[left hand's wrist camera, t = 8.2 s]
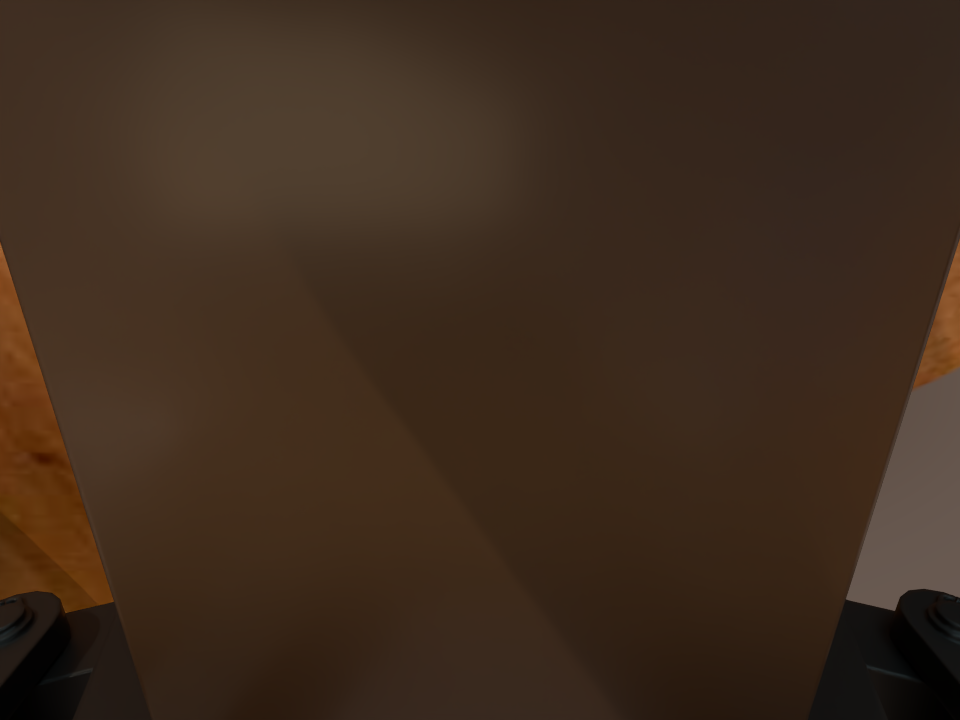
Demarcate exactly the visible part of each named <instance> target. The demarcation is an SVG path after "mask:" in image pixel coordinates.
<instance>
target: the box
mask: <svg viewBox="0 0 960 720" xmlns="http://www.w3.org/2000/svg"><path fill="white" fill-rule="evenodd" d="M959 239H960V0H0V242H1V245H2V248H3V252H4V255H5V258H6V261H7V264H8V267H9V271H10V274H11V277H12V280H13V283H14V286H15V290H16V293H17V296H18V299H19V302H20V305H21V308H22V312H23V315H24V318H25V321H26V324H27V327H28V331H29V334H30V337H31V340H32V343H33V346H34V350H35V353H36V356H37V359H38V362H39V365H40V369H41V372H42V375H43V378H44V381H45V384H46V388H47V391H48V394H49V397H50V400H51V403H52V406H53V410H54V413H55V416H56V419H57V422H58V425H59V429H60V432H61V435H62V438H63V441H64V444H65V448H66V451H67V454H68V457H69V460H70V463H71V467H72V470H73V473H74V476H75V479H76V482H77V485H78V489H79V492H80V495H81V498H82V501H83V504H84V508H85V511H86V514H87V517H88V520H89V523H90V527H91V530H92V533H93V536H94V539H95V542H96V546H97V549H98V552H99V555H100V558H101V561H102V564H103V568H104V571H105V574H106V577H107V580H108V583H109V587H110V590H111V593H112V596H113V599H114V602H115V606H116V609H117V612H118V615H119V618H120V621H121V625H122V628H123V631H124V634H125V637H126V640H127V644H128V647H129V650H130V653H131V656H132V659H133V662H134V666H135V669H136V672H137V675H138V678H139V681H140V685H141V688H142V691H143V694H144V697H145V700H146V704H147V707H148V710H149V713H150V716H151V719H152V720H808V717H809V714H810V711H811V707H812V704H813V701H814V698H815V695H816V692H817V688H818V685H819V682H820V679H821V676H822V673H823V669H824V666H825V663H826V660H827V657H828V654H829V650H830V647H831V644H832V641H833V638H834V635H835V631H836V628H837V625H838V622H839V619H840V616H841V612H842V609H843V606H844V603H845V600H846V596H847V593H848V590H849V587H850V584H851V581H852V578H853V574H854V571H855V568H856V565H857V562H858V558H859V555H860V552H861V549H862V546H863V543H864V540H865V536H866V533H867V530H868V527H869V524H870V521H871V517H872V514H873V511H874V508H875V505H876V502H877V498H878V495H879V492H880V489H881V486H882V483H883V479H884V476H885V473H886V470H887V467H888V464H889V460H890V457H891V454H892V451H893V448H894V445H895V441H896V438H897V435H898V432H899V429H900V426H901V422H902V419H903V416H904V413H905V410H906V407H907V403H908V400H909V397H910V394H911V391H912V388H913V384H914V381H915V378H916V375H917V372H918V369H919V365H920V362H921V359H922V356H923V353H924V350H925V346H926V343H927V340H928V337H929V334H930V331H931V327H932V324H933V321H934V318H935V315H936V312H937V308H938V305H939V302H940V299H941V296H942V293H943V289H944V286H945V283H946V280H947V277H948V274H949V270H950V267H951V264H952V261H953V258H954V255H955V251H956V248H957V245H958V242H959Z"/></svg>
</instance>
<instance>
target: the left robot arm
mask: <svg viewBox="0 0 960 720" xmlns="http://www.w3.org/2000/svg"><path fill="white" fill-rule="evenodd" d="M0 720H152V719H151V716H150V713H149V710H148V707H147V704H146V700H145V697H144V694H143V691H142V688H141V685H140V681H139V678H138V675H137V672H136V669H135V666H134V662H133V659H132V656H131V653H130V650H129V647H128V644H127V640H126V637H125V634H124V631H123V628H122V625H121V621H120V618H119V615H118V612H117V609H116V606H115V602H112V603H108V604H104V605H99V606H95V607H91V608H86V609H82V610H78V611H73V612H69V613H65V611H64V609H63V606H62V603H61V600H60V599H59V598H58V597H56V596H55V595H54V594H52V593H48V592H39V591H35V592H29V593H23V594H18V595H14V596H12V597H9V598H6V599H3V600H0ZM808 720H960V598H959V597H955V596H953V595H950V594H947V593H944V592H939V591H933V590H927V589H918V590H909V591H907V592H906V593H905V594H903V595H902V596H901V597H900V599H899V602H898V604H897V607H896V610H895V611H892V610H888V609H884V608H879V607H875V606H870V605H866V604H862V603H857V602H853V601H849V600H845V603H844V606H843V609H842V612H841V616H840V619H839V622H838V625H837V628H836V631H835V635H834V638H833V641H832V644H831V647H830V650H829V654H828V657H827V660H826V663H825V666H824V669H823V673H822V676H821V679H820V682H819V685H818V688H817V692H816V695H815V698H814V701H813V704H812V707H811V711H810V714H809V717H808Z"/></svg>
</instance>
